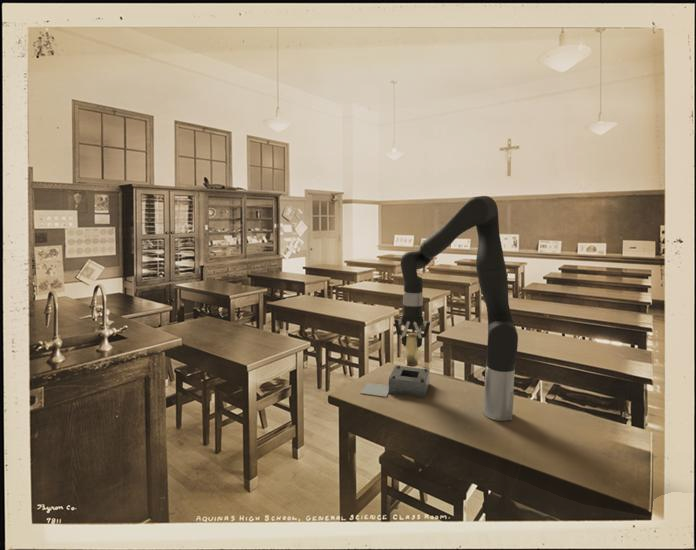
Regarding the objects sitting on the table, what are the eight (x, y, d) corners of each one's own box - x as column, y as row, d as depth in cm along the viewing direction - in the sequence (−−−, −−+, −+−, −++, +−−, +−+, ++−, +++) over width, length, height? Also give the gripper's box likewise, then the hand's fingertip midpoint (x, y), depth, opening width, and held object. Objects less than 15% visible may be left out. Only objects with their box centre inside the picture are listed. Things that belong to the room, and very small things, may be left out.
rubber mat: (391, 386, 162) (391, 385, 162) (386, 397, 153) (386, 396, 153) (367, 383, 165) (367, 382, 165) (360, 393, 156) (360, 392, 156)
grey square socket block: (429, 383, 166) (429, 368, 165) (425, 398, 153) (426, 381, 152) (394, 379, 170) (395, 364, 169) (388, 393, 157) (388, 376, 156)
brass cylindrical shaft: (418, 362, 161) (419, 333, 160) (417, 367, 157) (417, 337, 155) (406, 361, 163) (406, 332, 161) (404, 365, 158) (404, 335, 156)
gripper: (432, 302, 158) (431, 345, 160) (396, 300, 162) (395, 341, 164) (430, 306, 151) (429, 350, 153) (392, 304, 155) (391, 347, 157)
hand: (411, 345), depth 159 cm, fingers closed on brass cylindrical shaft, 5 cm apart
